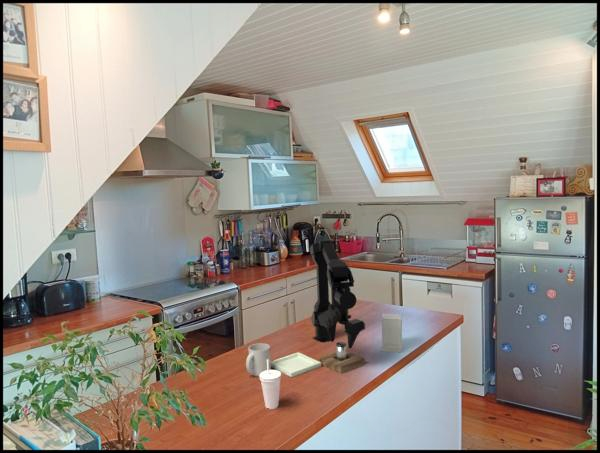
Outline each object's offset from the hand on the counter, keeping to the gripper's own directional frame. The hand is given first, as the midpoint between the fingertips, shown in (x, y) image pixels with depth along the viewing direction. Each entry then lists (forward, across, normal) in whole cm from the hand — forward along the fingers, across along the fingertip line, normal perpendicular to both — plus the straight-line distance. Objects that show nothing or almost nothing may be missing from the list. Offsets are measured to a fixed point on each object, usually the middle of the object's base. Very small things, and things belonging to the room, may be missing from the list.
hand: (341, 344), depth 161 cm
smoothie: (+7, +8, -35) cm, 37 cm away
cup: (+7, -14, -26) cm, 30 cm away
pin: (+7, 0, 0) cm, 7 cm away
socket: (+7, 0, 0) cm, 7 cm away
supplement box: (+7, +2, +24) cm, 25 cm away
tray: (+7, -10, -13) cm, 18 cm away
